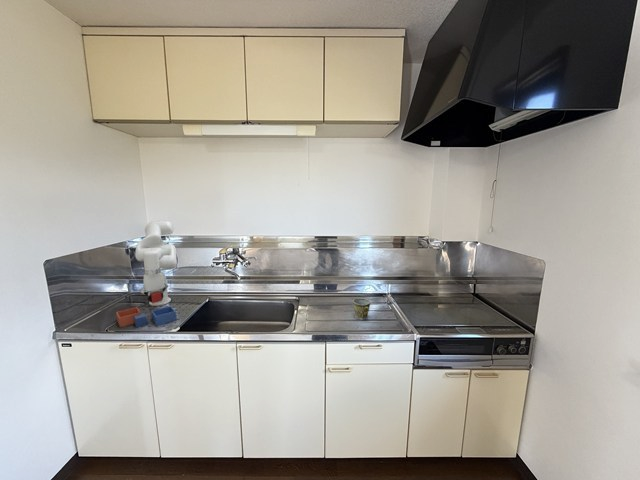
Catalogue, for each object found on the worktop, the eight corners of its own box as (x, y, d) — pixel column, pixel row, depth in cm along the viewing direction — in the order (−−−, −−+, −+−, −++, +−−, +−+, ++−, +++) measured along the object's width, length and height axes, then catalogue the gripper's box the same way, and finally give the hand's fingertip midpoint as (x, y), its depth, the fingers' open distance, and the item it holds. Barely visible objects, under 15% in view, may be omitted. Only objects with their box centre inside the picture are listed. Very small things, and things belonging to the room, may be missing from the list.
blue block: (134, 324, 152) (133, 316, 151) (145, 321, 155) (144, 313, 154) (136, 327, 148) (135, 319, 147) (147, 324, 152) (146, 316, 151)
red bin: (117, 321, 156) (116, 312, 155) (138, 315, 163) (137, 306, 162) (120, 327, 148) (118, 318, 147) (141, 321, 155) (140, 312, 154)
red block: (150, 300, 164) (149, 292, 163) (159, 298, 167) (158, 290, 166) (152, 303, 160) (151, 295, 159) (161, 300, 163) (161, 293, 162)
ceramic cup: (349, 315, 163) (350, 299, 161) (364, 312, 166) (364, 297, 165) (360, 324, 151) (361, 308, 149) (376, 321, 154) (376, 305, 153)
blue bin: (152, 319, 157) (151, 310, 156) (171, 314, 164) (170, 305, 163) (156, 325, 150) (155, 316, 149) (176, 320, 157) (175, 311, 156)
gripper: (166, 267, 168) (169, 294, 172) (134, 273, 157) (138, 302, 160) (170, 270, 163) (173, 298, 167) (136, 276, 151) (140, 306, 155)
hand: (156, 299), depth 163 cm, fingers closed on red block, 5 cm apart
